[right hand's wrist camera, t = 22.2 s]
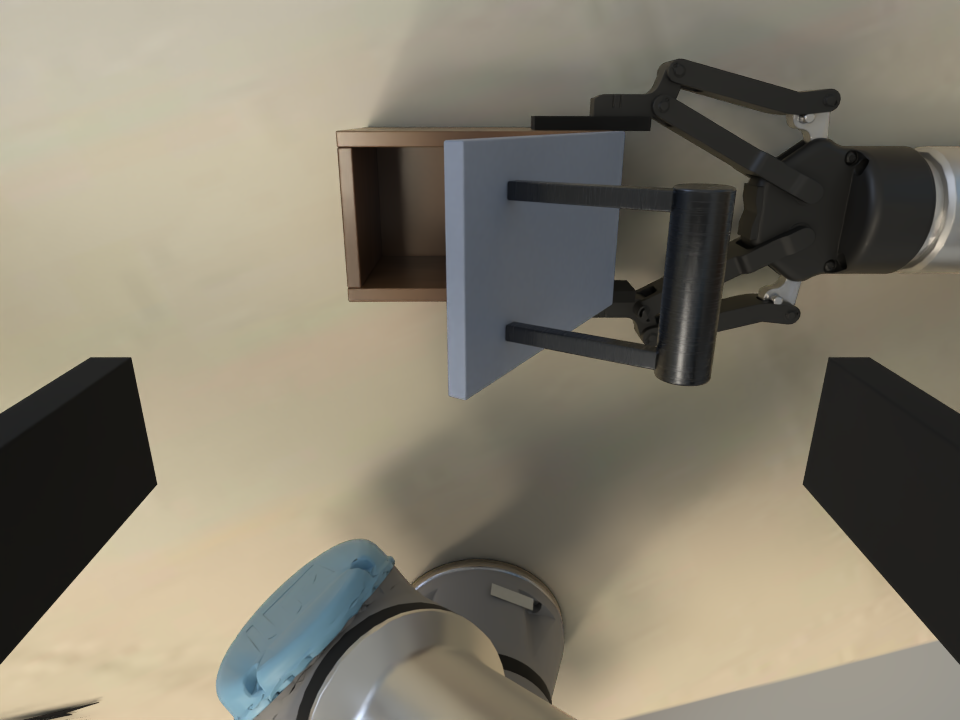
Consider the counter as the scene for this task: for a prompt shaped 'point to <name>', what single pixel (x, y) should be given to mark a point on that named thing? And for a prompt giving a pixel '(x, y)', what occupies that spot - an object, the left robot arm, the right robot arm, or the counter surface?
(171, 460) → the counter surface
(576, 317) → the lid
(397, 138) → the chest
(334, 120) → the counter surface
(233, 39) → the counter surface
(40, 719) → the feather
